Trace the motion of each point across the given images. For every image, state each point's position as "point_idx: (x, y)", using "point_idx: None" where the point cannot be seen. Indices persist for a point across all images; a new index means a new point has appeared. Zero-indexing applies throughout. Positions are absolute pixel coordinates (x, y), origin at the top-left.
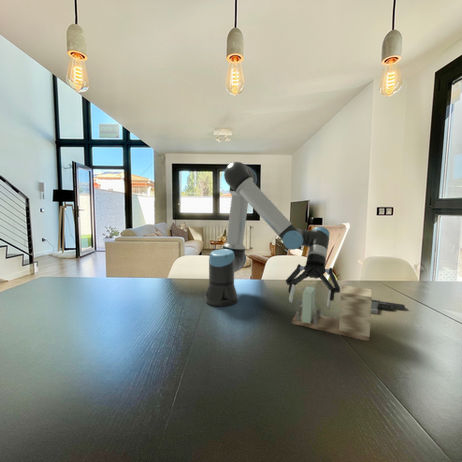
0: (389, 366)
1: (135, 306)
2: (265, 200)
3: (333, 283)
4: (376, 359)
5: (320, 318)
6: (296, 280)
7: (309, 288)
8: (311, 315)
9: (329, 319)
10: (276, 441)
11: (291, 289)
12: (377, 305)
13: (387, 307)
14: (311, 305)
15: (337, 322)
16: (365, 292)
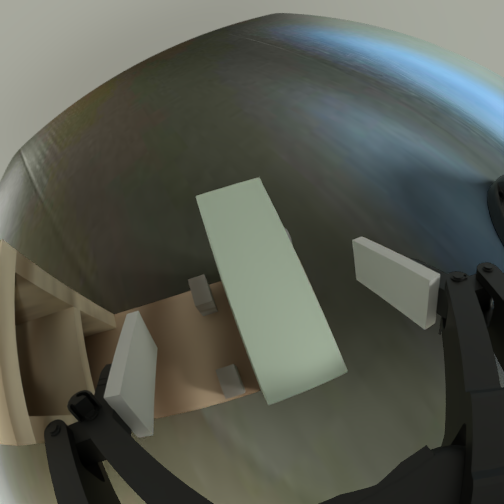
0: (21, 250)
1: (493, 111)
2: None
3: (102, 496)
4: (36, 256)
5: (214, 369)
6: (455, 308)
7: (284, 309)
8: (226, 295)
9: (179, 389)
10: (144, 65)
11: (404, 257)
12: None
13: None
14: (215, 261)
15: None
16: None
